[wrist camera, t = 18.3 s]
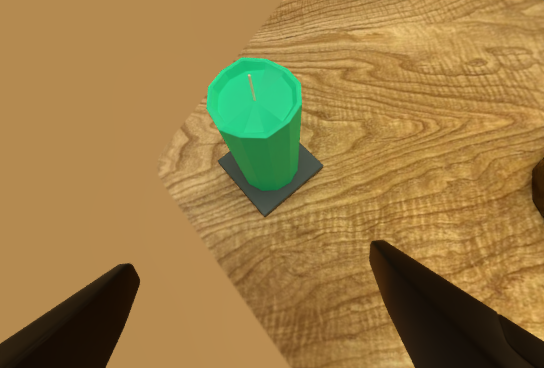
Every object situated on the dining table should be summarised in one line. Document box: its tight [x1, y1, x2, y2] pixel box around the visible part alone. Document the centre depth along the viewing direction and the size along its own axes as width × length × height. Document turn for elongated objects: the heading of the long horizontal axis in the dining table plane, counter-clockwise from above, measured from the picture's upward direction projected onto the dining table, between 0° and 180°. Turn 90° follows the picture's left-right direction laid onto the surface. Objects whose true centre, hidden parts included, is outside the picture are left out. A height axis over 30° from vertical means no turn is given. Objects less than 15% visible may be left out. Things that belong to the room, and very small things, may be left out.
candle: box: [206, 57, 302, 191], centre depth 18 cm, size 6×6×12 cm
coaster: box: [218, 143, 323, 217], centre depth 24 cm, size 8×8×1 cm
